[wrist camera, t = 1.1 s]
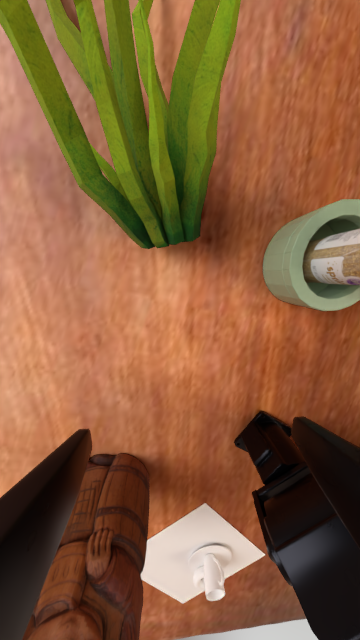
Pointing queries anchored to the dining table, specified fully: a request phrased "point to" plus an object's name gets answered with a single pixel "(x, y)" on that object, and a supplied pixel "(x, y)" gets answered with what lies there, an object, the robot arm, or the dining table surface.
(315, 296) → the jar
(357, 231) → the sprinkles bottle
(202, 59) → the decorative plant
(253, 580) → the dining table surface
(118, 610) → the wooden figurine
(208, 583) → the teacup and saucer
